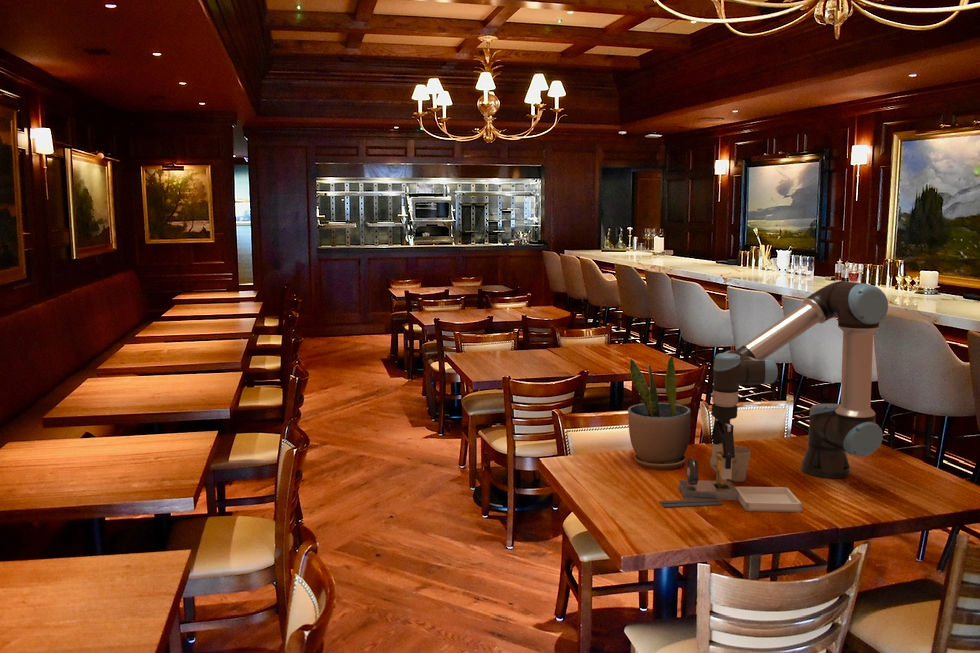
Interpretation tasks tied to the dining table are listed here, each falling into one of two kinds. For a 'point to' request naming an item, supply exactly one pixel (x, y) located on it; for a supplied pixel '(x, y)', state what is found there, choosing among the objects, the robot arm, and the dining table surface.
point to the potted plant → (658, 423)
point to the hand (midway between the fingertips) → (721, 471)
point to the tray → (768, 499)
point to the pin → (720, 472)
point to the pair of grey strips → (690, 503)
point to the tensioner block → (704, 486)
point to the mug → (738, 464)
